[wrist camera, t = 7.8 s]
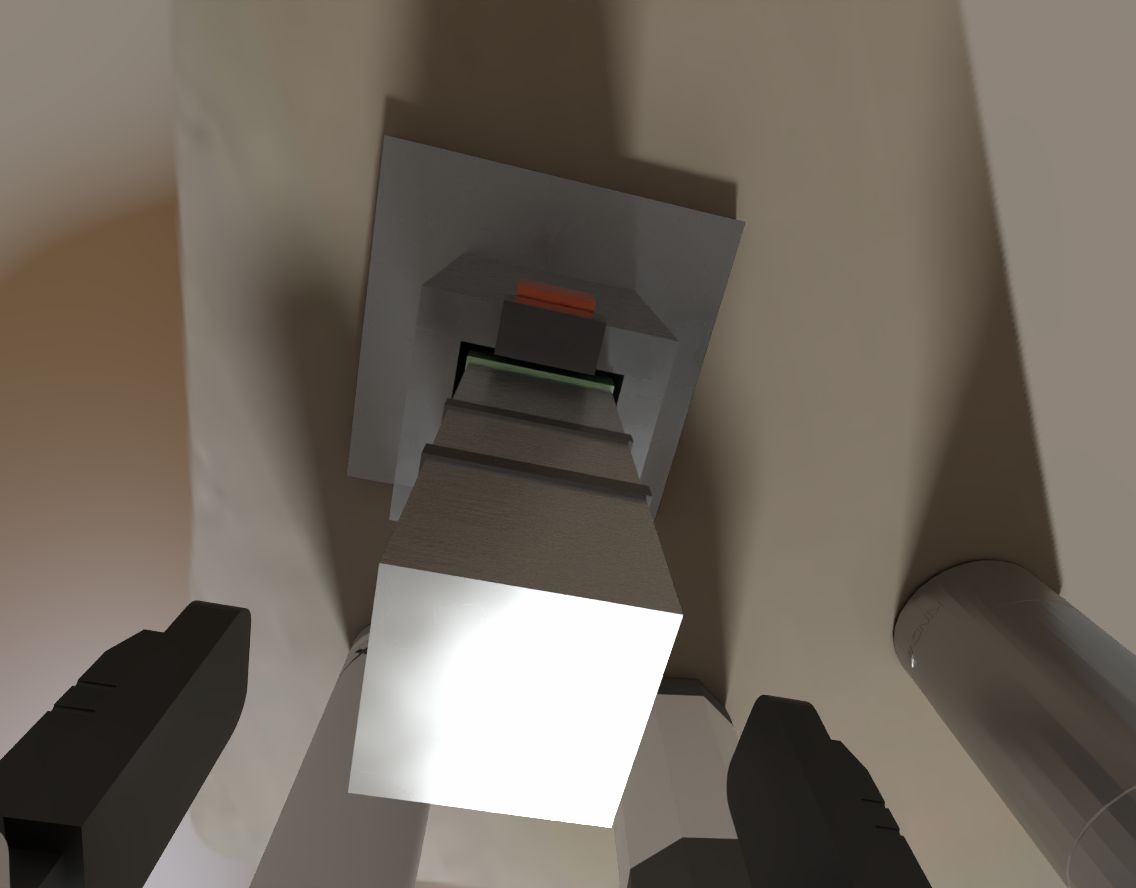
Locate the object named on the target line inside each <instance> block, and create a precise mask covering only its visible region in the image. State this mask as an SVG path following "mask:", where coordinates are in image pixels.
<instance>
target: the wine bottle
mask: <svg viewBox="0 0 1136 888" xmlns="http://www.w3.org/2000/svg"><path fill="white" fill-rule="evenodd" d="M738 742H739V741H738V738H737V735H736V732H735V729H734V727H733V724H732V721H731V719H730V716H729V714H728V712H727V710H726V709H725V707H724V706H723V705H722V704H721V703H720V702H719V701H718V700H717V699H716V698H715V697H714V696H713V695H712V694H711V693H710V692H709V691H708V690H707V689H706V688H705V687H704V686H703V685H702V684H701V683H700V682H699V681H698V680H697V679H677V678H662V679H661V682H660V685H659V688H658V690H657V693H656V696H655V699H654V702H653V705H652V708H651V711H650V714H649V717H648V720H647V723H646V726H645V728H644V731H643V734H642V737H641V740H640V743H639V746H638V749H637V752H636V755H635V758H634V761H633V763H632V766H631V769H630V772H629V775H628V778H627V781H626V784H625V787H624V790H623V793H622V796H621V798H620V801H619V804H618V807H617V810H616V813H615V816H614V819H613V823H614V833H615V842H616V851H617V861H618V870H619V880H620V888H752V886H751V882H750V879H749V875H748V872H747V868H746V865H745V861H744V858H743V855H742V851H741V848H740V844H739V841H738V837H737V834H736V831H735V827H734V824H733V820H732V817H731V813H730V810H729V806H728V801H727V788H726V785H727V773H728V768H729V764H730V762H731V759H732V757H733V754H734V752H735V749H736V747H737V744H738Z"/></svg>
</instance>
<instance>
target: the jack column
mask: <svg viewBox="0 0 1136 888" xmlns="http://www.w3.org/2000/svg"><path fill="white" fill-rule="evenodd" d="M494 352H495V348H492V347H488V346H483V345H478V344H477V345H476V347H475V349H473V348H471V349H470V351H469V353H468V355H467V361H466V367H465V372H464V374H463V377H462V379H461V381H460V383H459V386H458V388H457V390H456V392H455V395H454V397H453V399H451V398H447V400H446V402H445V404H444V410H443V416H442V422H441V426H440V428H439V430H438V433H437V435H436V437H435V439H434V442H433V444H428V443H426V444H425V446H424V449H423V451H422V453H421V459H420V466H419V473H418V477H417V480H416V482H415V484H414V486H413V489H412V491H411V493H410V495H409V498H408V500H407V502H406V504H405V507H404V509H403V511H402V513H401V516H400V518H399V520H398V522H397V525H396V527H395V529H394V531H393V534H392V536H391V538H390V540H389V543H388V545H387V547H386V549H385V551H384V554H383V556H382V558H381V560H380V563H379V569H378V576H377V584H376V591H375V598H374V606H373V613H372V620H371V628H370V635H369V642H368V649H367V657H366V664H365V671H364V679H363V686H362V693H361V700H360V708H359V715H358V722H357V730H356V737H355V744H354V752H353V759H352V766H351V773H350V781H349V788H348V793H354V794H362V795H369V796H377V797H384V798H392V799H399V800H407V801H415V802H422V803H430V804H437V805H445V806H452V807H460V808H468V809H475V810H483V811H490V812H498V813H505V814H513V815H520V816H528V817H536V818H543V819H551V820H558V821H566V822H573V823H581V824H589V825H596V826H604V827H611V825H612V822H613V819H614V816H615V813H616V810H617V807H618V804H619V801H620V798H621V796H622V793H623V790H624V787H625V784H626V781H627V778H628V775H629V772H630V769H631V766H632V763H633V761H634V758H635V755H636V752H637V749H638V746H639V743H640V740H641V737H642V734H643V731H644V728H645V726H646V723H647V720H648V717H649V714H650V711H651V708H652V705H653V702H654V699H655V696H656V693H657V690H658V688H659V685H660V682H661V679H662V676H663V673H664V670H665V667H666V664H667V661H668V658H669V655H670V653H671V650H672V647H673V644H674V641H675V638H676V635H677V632H678V629H679V626H680V623H681V620H682V617H683V612H682V609H681V606H680V603H679V600H678V597H677V594H676V591H675V587H674V584H673V581H672V578H671V575H670V572H669V569H668V566H667V563H666V559H665V556H664V553H663V550H662V547H661V544H660V541H659V538H658V535H657V531H656V528H655V525H654V522H653V519H652V516H651V513H650V510H649V507H650V504H651V500H652V497H653V496H652V494H651V491H650V488H649V486H647V485H641V482H640V479H639V475H638V472H637V469H636V466H635V463H634V460H633V457H632V454H631V450H632V446H633V443H634V441H633V438H632V436H631V435H630V434H625V432H624V429H623V426H622V423H621V419H620V416H619V413H618V410H617V407H616V404H615V401H614V398H613V395H612V394H613V390H614V387H615V386H614V383H613V380H612V378H611V377H607V376H606V373H605V371H602V370H597V369H596V370H595V374H594V375H590V374H585V373H580V372H576V371H571V370H566V369H561V368H556V367H552V366H547V365H542V364H537V363H533V362H528V361H523V360H518V359H513V358H509V357H504V356H499V355H494Z"/></svg>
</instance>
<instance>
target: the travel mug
mask: <svg viewBox="0 0 1136 888" xmlns="http://www.w3.org/2000/svg"><path fill="white" fill-rule="evenodd" d="M370 628H371V624H370V625H368V626H367V627H365V628H364V629H363V630H362V631H361V632H360V633H359V634H358V636H357V637H356V639H355V640H354V642H353V645H352V647H351V649H350V652H349V654H348V657H347V659H346V661H345V664H344V666H343V668H342V671H341V673H340V675H339V678H338V680H337V682H336V685H335V687H334V689H333V692H332V694H331V697H330V699H329V701H328V704H327V706H326V708H325V711H324V713H323V715H322V718H321V720H320V722H319V725H318V727H317V729H316V732H315V734H314V737H313V739H312V741H311V744H310V746H309V748H308V751H307V753H306V755H305V758H304V760H303V762H302V765H301V767H300V769H299V772H298V774H297V776H296V779H295V781H294V784H293V786H292V788H291V791H290V793H289V795H288V798H287V800H286V802H285V805H284V807H283V809H282V812H281V814H280V816H279V819H278V821H277V824H276V826H275V828H274V831H273V833H272V835H271V838H270V840H269V842H268V845H267V847H266V849H265V852H264V854H263V856H262V859H261V861H260V864H259V866H258V868H257V871H256V873H255V875H254V878H253V880H252V882H251V885H250V887H249V888H415V882H416V877H417V872H418V866H419V861H420V856H421V851H422V845H423V840H424V835H425V829H426V824H427V819H428V813H429V808H430V803H422V802H415V801H407V800H399V799H392V798H384V797H377V796H369V795H362V794H354V793H348V788H349V781H350V773H351V766H352V759H353V752H354V744H355V737H356V730H357V722H358V715H359V708H360V700H361V693H362V686H363V679H364V671H365V664H366V657H367V649H368V642H369V635H370Z"/></svg>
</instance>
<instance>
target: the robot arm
mask: <svg viewBox="0 0 1136 888" xmlns="http://www.w3.org/2000/svg"><path fill="white" fill-rule="evenodd" d="M250 631H251V614H250V611H249V609H247V608H241V607H235V606H228V605H222V604H216V603H210V602H204V601H193V602H191V603H190V604H189V605H188V606H187V607H186V608H185V609H184V610H183V612H182V613H181V614H180V615H179V616H178V617H177V618H176V619H175V621H174V622H173V623H172V624H171V625H170V626H169V628H168V629H167V630H166V631H165V632H164V633H163V632H157V631H151V630H143V631H141V632H139V633H137V634H135V635H134V636H132V637H130V638H128V639H126V640H125V641H123V642H121V643H119V644H118V645H116V646H114V647H112V648H110V649H109V650H107V651H105V652H104V653H103V654H102V656H101V657H100V658H99V659H98V660H97V661H96V662H95V663H94V664H93V665H92V666H91V667H90V668H89V669H88V670H87V671H86V672H85V673H84V674H83V675H82V676H81V677H80V678H79V679H78V682H77V684H76V686H72V687H71V688H70V689H69V690H68V691H67V692H66V693H65V694H64V695H63V696H62V697H61V698H60V699H59V700H58V701H57V702H56V703H55V704H54V707H53V710H52V711H47V712H46V714H44V716H43V717H42V718H41V719H40V720H39V721H38V722H37V723H36V724H35V725H34V726H33V727H32V728H31V729H30V730H29V731H28V732H27V733H26V734H25V735H24V736H23V737H22V738H21V739H20V740H19V741H18V743H16V744H15V746H14V747H13V748H12V749H11V750H10V751H9V752H8V753H7V754H6V755H5V756H4V757H3V758H2V759H1V760H0V888H142V887H143V886H144V884H145V882H146V881H147V879H148V877H149V875H150V874H151V872H152V870H153V869H154V867H155V865H156V863H157V862H158V860H159V858H160V857H161V855H162V853H163V851H164V850H165V848H166V846H167V845H168V843H169V841H170V840H171V838H172V836H173V834H174V833H175V831H176V829H177V828H178V826H179V824H180V822H181V821H182V819H183V817H184V816H185V814H186V812H187V811H188V809H189V807H190V805H191V804H192V802H193V800H194V799H195V797H196V795H197V793H198V792H199V790H200V788H201V787H202V785H203V783H204V782H205V780H206V778H207V776H208V775H209V773H210V771H211V770H212V768H213V766H214V764H215V763H216V761H217V759H218V758H219V756H220V754H221V752H222V751H223V749H224V747H225V746H226V744H227V742H228V741H229V739H230V737H231V735H232V734H233V732H234V730H235V728H236V725H237V723H238V721H239V718H240V715H241V713H242V709H243V706H244V702H245V698H246V693H247V683H248V666H249V648H250ZM894 645H895V652H896V654H897V657H898V659H899V661H900V663H901V664H902V666H903V667H904V669H905V670H906V671H907V673H908V674H909V675H910V677H911V678H912V679H913V681H914V682H915V683H916V685H917V686H918V687H919V689H920V690H921V691H922V693H923V694H924V695H925V697H926V698H927V699H928V701H929V702H930V703H931V705H932V706H933V707H934V709H935V710H936V712H937V713H938V715H939V716H940V717H941V719H942V720H943V721H944V723H945V724H946V725H947V727H948V728H949V729H950V731H951V732H952V733H953V735H954V736H955V737H956V739H957V740H958V741H959V743H960V744H961V745H962V747H963V748H964V749H965V751H966V752H967V753H968V755H969V756H970V757H971V759H972V760H973V761H974V763H975V764H976V765H977V767H978V768H979V769H980V771H981V772H982V774H983V775H984V776H985V778H986V779H987V780H988V782H989V783H990V784H991V786H992V787H993V788H994V790H995V791H996V792H997V794H998V795H999V796H1000V798H1001V799H1002V800H1003V802H1004V803H1005V804H1006V806H1007V807H1008V808H1009V810H1010V811H1011V812H1012V814H1013V815H1014V816H1015V818H1016V819H1017V820H1018V822H1019V823H1020V824H1021V826H1022V827H1023V828H1024V830H1025V831H1026V832H1027V834H1028V835H1029V837H1030V838H1031V839H1032V841H1033V842H1034V843H1035V845H1036V846H1037V847H1038V849H1039V850H1040V851H1041V853H1042V854H1043V855H1044V857H1045V858H1046V859H1047V861H1048V862H1049V863H1050V865H1051V866H1052V867H1053V869H1054V870H1055V871H1056V873H1057V874H1058V875H1059V877H1060V878H1061V879H1062V881H1063V882H1064V883H1065V885H1066V886H1067V887H1068V888H1136V656H1135V655H1134V654H1133V653H1132V652H1130V651H1129V650H1128V649H1127V648H1125V647H1124V646H1123V645H1122V644H1120V643H1119V642H1118V641H1117V640H1115V639H1114V638H1113V637H1112V636H1110V635H1109V634H1107V633H1106V632H1105V631H1104V630H1103V629H1101V628H1100V627H1099V626H1097V625H1096V624H1095V623H1094V622H1092V621H1091V620H1090V619H1089V618H1088V617H1086V616H1085V615H1084V614H1082V613H1081V612H1080V611H1079V610H1077V609H1076V608H1075V607H1074V606H1072V605H1071V604H1070V603H1069V602H1067V601H1066V600H1065V599H1064V598H1062V597H1061V596H1059V595H1058V594H1057V593H1055V592H1054V591H1053V590H1052V589H1050V588H1049V587H1048V586H1046V585H1045V584H1044V583H1043V582H1041V581H1040V580H1039V579H1038V578H1036V577H1035V576H1034V575H1032V574H1031V573H1030V572H1029V571H1027V570H1026V569H1024V568H1022V567H1020V566H1017V565H1015V564H1013V563H1008V562H1003V561H998V560H981V561H976V562H970V563H965V564H962V565H959V566H956V567H953V568H951V569H948V570H946V571H944V572H942V573H941V574H939V575H937V576H935V577H933V578H932V579H931V580H929V581H928V582H927V583H925V584H924V585H923V586H922V587H920V588H919V589H918V590H917V591H916V592H915V593H914V595H913V596H912V597H911V598H910V599H909V600H908V601H907V603H906V605H905V606H904V608H903V610H902V611H901V613H900V615H899V618H898V620H897V623H896V626H895V633H894ZM726 788H727V801H728V806H729V810H730V813H731V817H732V820H733V824H734V827H735V831H736V834H737V837H738V841H739V844H740V848H741V851H742V855H743V858H744V861H745V865H746V868H747V872H748V875H749V879H750V882H751V886H752V888H932V887H931V885H930V883H929V881H928V880H927V878H926V876H925V874H924V872H923V870H922V869H921V867H920V865H919V863H918V861H917V859H916V858H915V856H914V854H913V852H912V850H911V849H910V847H909V845H908V843H907V841H906V839H905V838H904V836H900V833H899V830H900V829H899V827H898V825H897V823H896V821H895V819H894V818H893V816H892V814H891V812H890V810H889V809H888V808H885V801H884V799H883V798H882V796H881V794H880V792H879V790H878V788H877V787H876V785H875V783H874V781H873V779H872V777H871V776H870V774H869V772H868V770H867V769H866V768H865V767H864V766H863V765H862V764H861V763H860V762H859V761H858V759H857V758H856V757H855V756H854V755H853V754H852V753H851V752H850V751H849V750H848V749H847V748H846V747H845V745H844V744H843V743H842V742H841V741H837V740H831V739H830V737H829V735H828V733H827V731H826V729H825V727H824V725H823V723H822V721H821V719H820V717H819V715H818V713H817V711H816V710H815V708H814V707H813V705H812V704H810V703H809V702H806V701H800V700H794V699H788V698H782V697H775V696H769V695H761V696H760V697H759V698H758V699H757V700H756V701H755V703H754V706H753V708H752V710H751V713H750V715H749V718H748V720H747V723H746V725H745V727H744V730H743V732H742V735H741V737H740V740H739V742H738V744H737V747H736V749H735V752H734V754H733V757H732V759H731V762H730V764H729V768H728V773H727V785H726Z"/></svg>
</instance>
